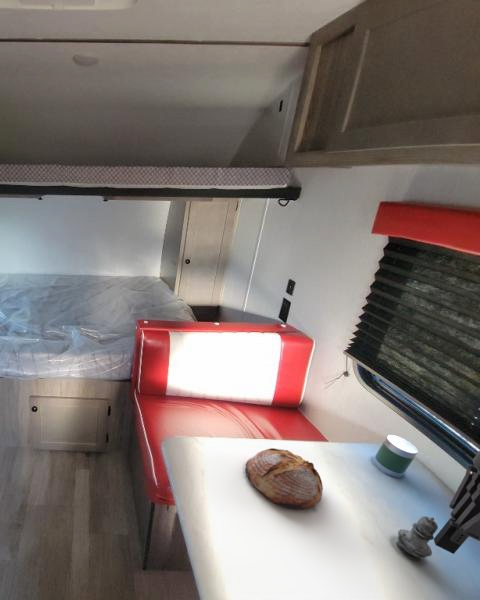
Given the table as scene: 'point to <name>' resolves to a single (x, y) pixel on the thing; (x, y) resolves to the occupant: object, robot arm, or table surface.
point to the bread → (285, 478)
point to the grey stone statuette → (417, 539)
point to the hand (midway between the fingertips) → (443, 546)
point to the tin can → (395, 456)
